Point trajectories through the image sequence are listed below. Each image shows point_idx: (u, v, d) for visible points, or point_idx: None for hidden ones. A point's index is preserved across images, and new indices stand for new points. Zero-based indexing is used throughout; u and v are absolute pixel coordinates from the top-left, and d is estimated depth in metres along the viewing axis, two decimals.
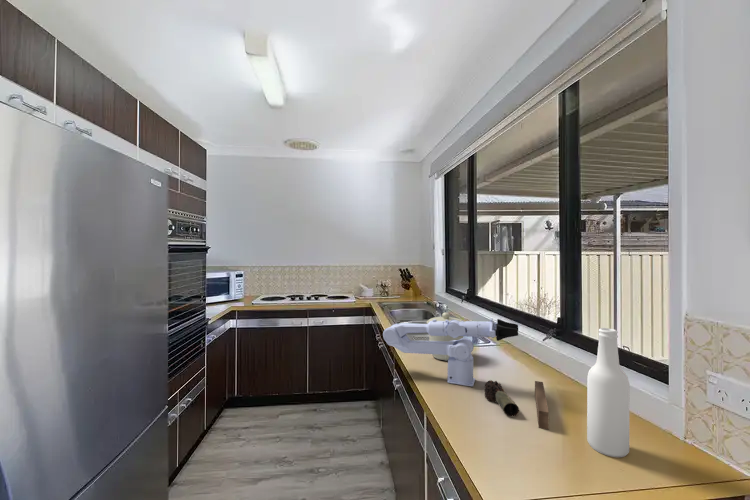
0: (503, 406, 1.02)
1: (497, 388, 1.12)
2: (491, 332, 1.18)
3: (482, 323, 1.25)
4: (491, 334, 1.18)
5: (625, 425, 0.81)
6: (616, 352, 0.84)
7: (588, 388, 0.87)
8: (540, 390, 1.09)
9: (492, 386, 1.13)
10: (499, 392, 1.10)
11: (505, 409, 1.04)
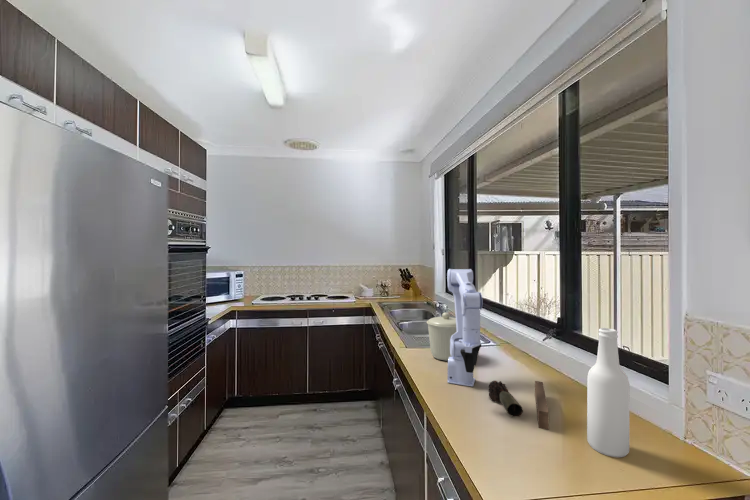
0: (507, 406, 1.02)
1: (501, 388, 1.12)
2: None
3: None
4: None
5: (625, 425, 0.81)
6: (616, 352, 0.84)
7: (588, 388, 0.87)
8: (540, 390, 1.09)
9: (496, 386, 1.12)
10: (503, 392, 1.09)
11: (509, 409, 1.04)
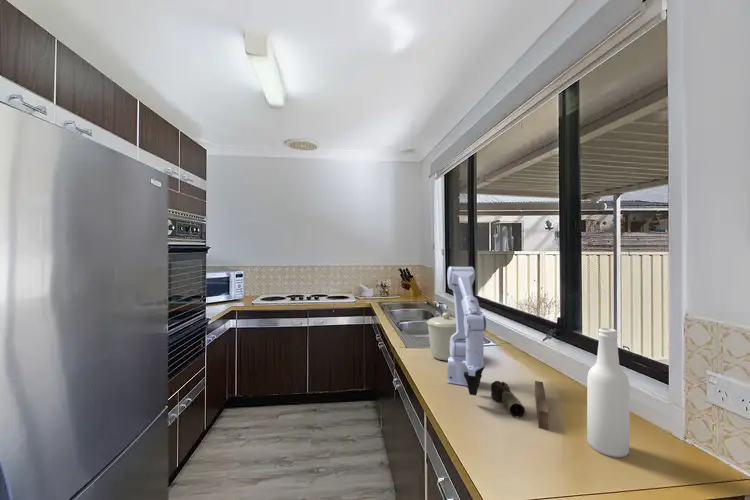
0: (509, 406, 1.02)
1: (504, 388, 1.12)
2: None
3: None
4: None
5: (625, 425, 0.81)
6: (616, 352, 0.84)
7: (588, 388, 0.87)
8: (540, 390, 1.09)
9: (498, 386, 1.12)
10: (505, 392, 1.09)
11: (511, 410, 1.03)
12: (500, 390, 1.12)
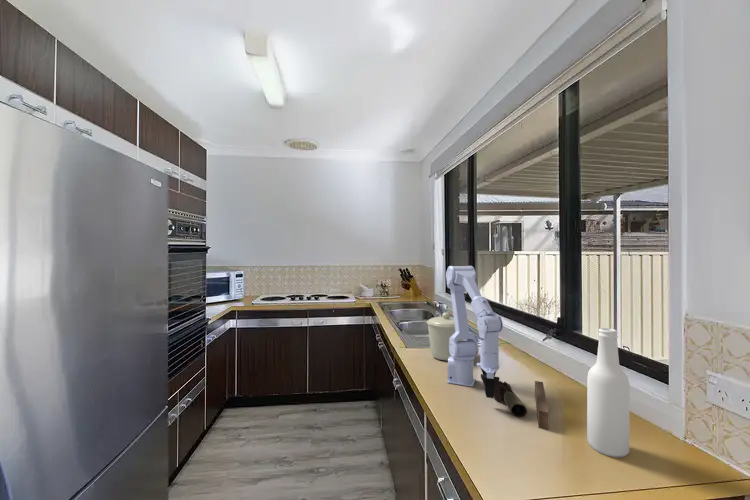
0: (511, 407, 1.02)
1: (506, 389, 1.12)
2: None
3: None
4: None
5: (625, 425, 0.81)
6: (616, 352, 0.84)
7: (588, 388, 0.87)
8: (540, 390, 1.09)
9: (501, 387, 1.12)
10: (507, 393, 1.09)
11: (513, 410, 1.03)
12: (502, 390, 1.11)
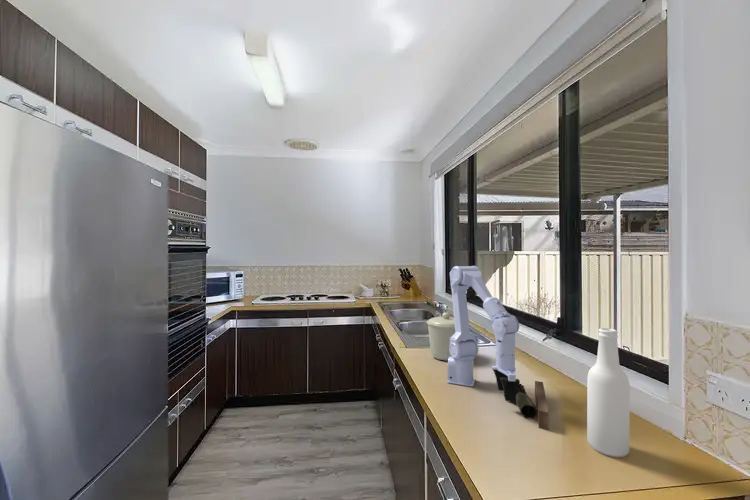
0: (520, 407, 1.02)
1: (518, 390, 1.11)
2: None
3: None
4: None
5: (625, 425, 0.81)
6: (616, 352, 0.84)
7: (588, 388, 0.87)
8: (540, 390, 1.09)
9: None
10: (519, 394, 1.08)
11: (523, 411, 1.03)
12: (515, 391, 1.11)
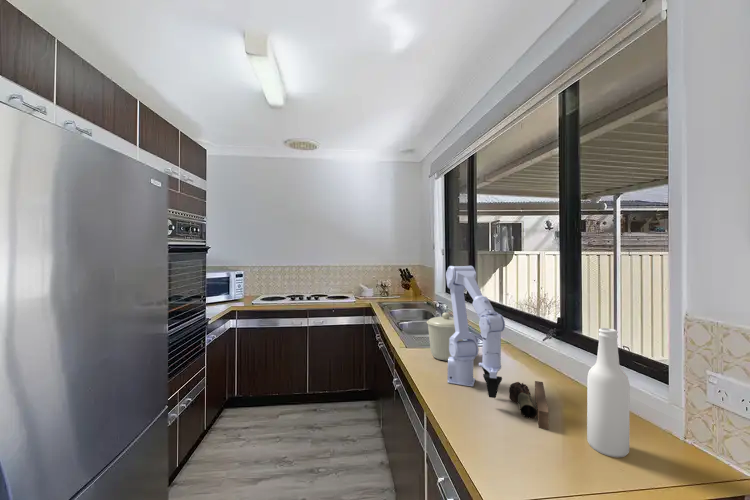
0: (520, 407, 1.02)
1: (521, 390, 1.11)
2: None
3: None
4: None
5: (625, 425, 0.81)
6: (616, 352, 0.84)
7: (588, 388, 0.87)
8: (540, 390, 1.09)
9: (516, 387, 1.12)
10: (522, 394, 1.08)
11: (523, 411, 1.03)
12: (517, 391, 1.11)
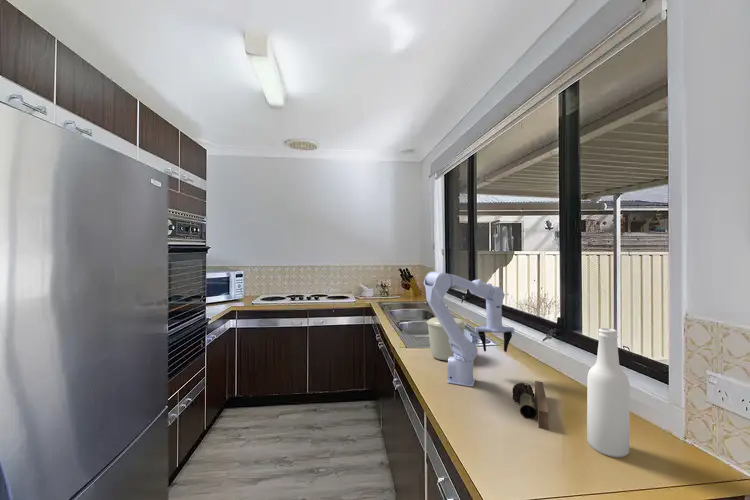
0: (520, 407, 1.02)
1: (524, 390, 1.10)
2: (475, 329, 1.34)
3: (491, 321, 1.31)
4: (475, 328, 1.35)
5: (625, 425, 0.81)
6: (616, 352, 0.84)
7: (588, 388, 0.87)
8: (540, 390, 1.09)
9: (519, 388, 1.11)
10: (524, 394, 1.08)
11: (524, 411, 1.03)
12: (520, 391, 1.11)
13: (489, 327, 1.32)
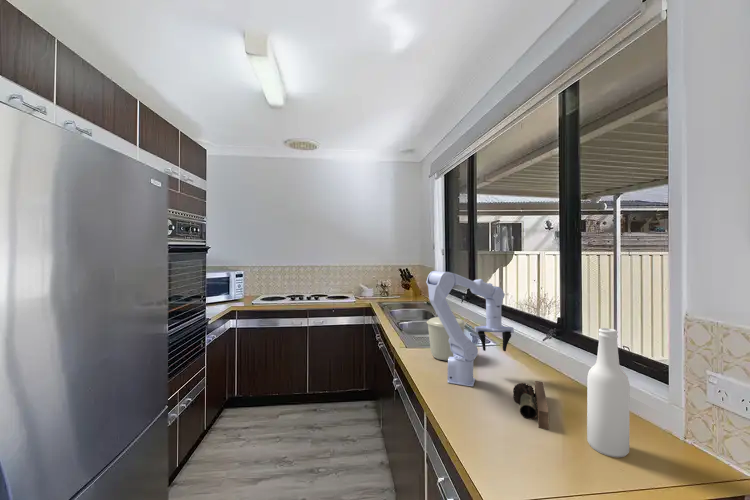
0: (520, 407, 1.02)
1: (525, 391, 1.10)
2: (475, 328, 1.35)
3: (491, 321, 1.32)
4: (475, 328, 1.35)
5: (625, 425, 0.81)
6: (616, 352, 0.84)
7: (588, 388, 0.87)
8: (540, 390, 1.09)
9: (520, 388, 1.11)
10: (524, 394, 1.08)
11: (524, 411, 1.03)
12: (521, 392, 1.10)
13: (489, 327, 1.33)
